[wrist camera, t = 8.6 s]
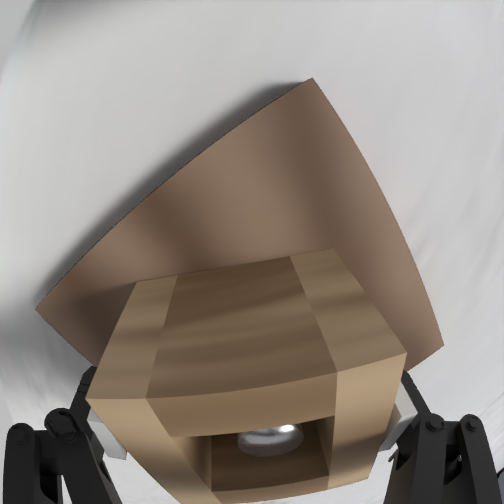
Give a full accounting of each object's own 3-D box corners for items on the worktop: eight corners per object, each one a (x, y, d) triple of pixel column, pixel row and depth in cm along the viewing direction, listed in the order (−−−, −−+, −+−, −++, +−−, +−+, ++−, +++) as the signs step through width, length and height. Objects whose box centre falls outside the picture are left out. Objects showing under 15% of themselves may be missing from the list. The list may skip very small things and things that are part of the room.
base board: (303, 81, 12) (312, 77, 10) (434, 332, 18) (444, 345, 17) (46, 295, 15) (35, 309, 14) (230, 442, 22) (230, 457, 20)
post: (264, 317, 15) (281, 417, 9) (291, 346, 16) (315, 441, 10) (224, 341, 15) (223, 441, 10) (253, 367, 16) (262, 461, 11)
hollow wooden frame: (137, 281, 13) (85, 398, 7) (333, 248, 14) (407, 352, 7) (214, 452, 20) (215, 531, 13) (331, 434, 20) (353, 510, 13)
